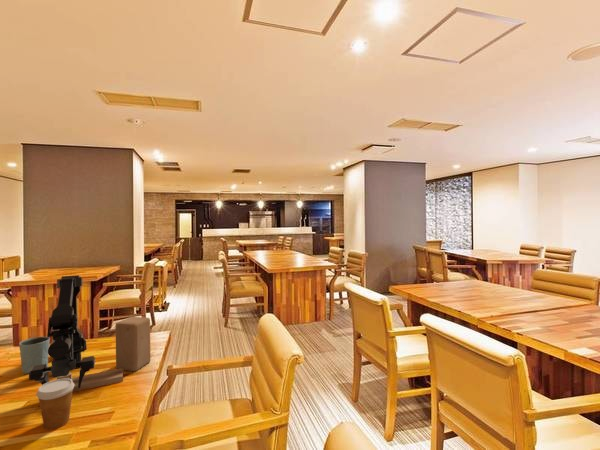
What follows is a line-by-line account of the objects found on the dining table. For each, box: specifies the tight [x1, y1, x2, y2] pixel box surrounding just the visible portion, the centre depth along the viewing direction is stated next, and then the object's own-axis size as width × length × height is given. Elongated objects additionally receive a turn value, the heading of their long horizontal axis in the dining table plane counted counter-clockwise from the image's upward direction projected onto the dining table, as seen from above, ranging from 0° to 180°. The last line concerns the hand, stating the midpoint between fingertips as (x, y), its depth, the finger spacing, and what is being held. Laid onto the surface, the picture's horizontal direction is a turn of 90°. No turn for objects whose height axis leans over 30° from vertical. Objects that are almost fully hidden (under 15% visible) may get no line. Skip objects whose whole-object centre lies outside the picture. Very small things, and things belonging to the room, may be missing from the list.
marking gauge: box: [55, 372, 73, 380], centre depth 121 cm, size 13×4×7 cm, turn 28°
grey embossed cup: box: [18, 336, 51, 374], centre depth 140 cm, size 10×10×12 cm
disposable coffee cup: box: [35, 378, 75, 430], centre depth 103 cm, size 10×10×12 cm
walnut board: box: [72, 368, 124, 393], centre depth 127 cm, size 8×23×2 cm, turn 118°
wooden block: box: [115, 316, 152, 372], centre depth 142 cm, size 10×10×20 cm
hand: (64, 390), depth 118 cm, fingers open, 9 cm apart
